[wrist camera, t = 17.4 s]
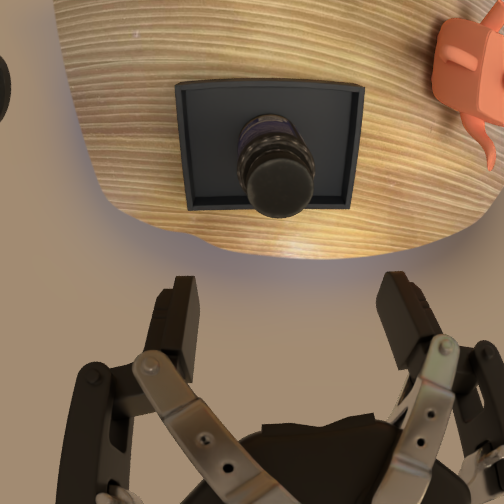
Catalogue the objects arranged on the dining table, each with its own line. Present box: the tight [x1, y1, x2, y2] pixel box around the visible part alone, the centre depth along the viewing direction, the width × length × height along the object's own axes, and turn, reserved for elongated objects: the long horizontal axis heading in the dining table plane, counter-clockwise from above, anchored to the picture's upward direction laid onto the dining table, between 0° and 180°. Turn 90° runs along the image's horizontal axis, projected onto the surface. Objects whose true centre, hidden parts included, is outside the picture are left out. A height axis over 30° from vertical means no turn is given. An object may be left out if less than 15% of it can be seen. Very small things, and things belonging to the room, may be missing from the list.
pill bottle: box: [237, 114, 315, 218], centre depth 25 cm, size 6×6×11 cm
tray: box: [175, 78, 365, 211], centre depth 29 cm, size 17×13×3 cm
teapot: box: [431, 0, 504, 171], centre depth 19 cm, size 14×12×10 cm
